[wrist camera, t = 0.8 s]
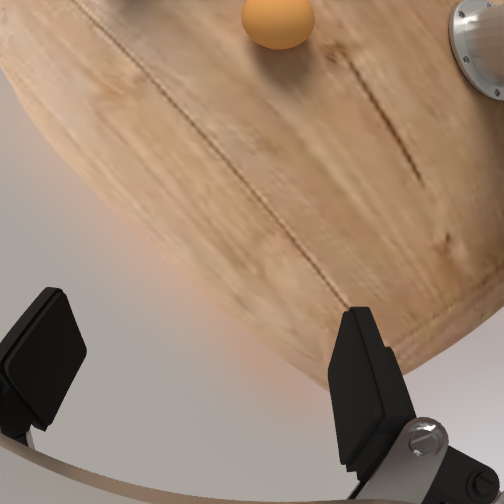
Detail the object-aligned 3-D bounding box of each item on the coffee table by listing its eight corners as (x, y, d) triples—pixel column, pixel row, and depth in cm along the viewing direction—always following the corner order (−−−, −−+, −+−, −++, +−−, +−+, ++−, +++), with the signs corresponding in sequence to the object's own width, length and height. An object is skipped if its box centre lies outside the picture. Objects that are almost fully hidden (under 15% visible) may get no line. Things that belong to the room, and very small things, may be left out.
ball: (285, -11, 21) (290, -34, 15) (321, 36, 23) (335, 22, 18) (231, 17, 22) (223, -1, 17) (267, 65, 25) (268, 56, 19)
